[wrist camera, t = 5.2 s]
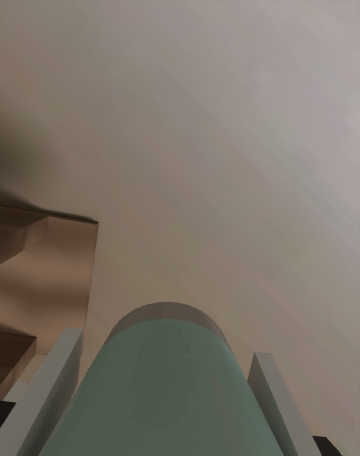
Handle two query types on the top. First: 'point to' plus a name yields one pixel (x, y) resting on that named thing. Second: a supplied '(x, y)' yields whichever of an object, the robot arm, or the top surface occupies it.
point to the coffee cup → (163, 393)
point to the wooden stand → (40, 284)
